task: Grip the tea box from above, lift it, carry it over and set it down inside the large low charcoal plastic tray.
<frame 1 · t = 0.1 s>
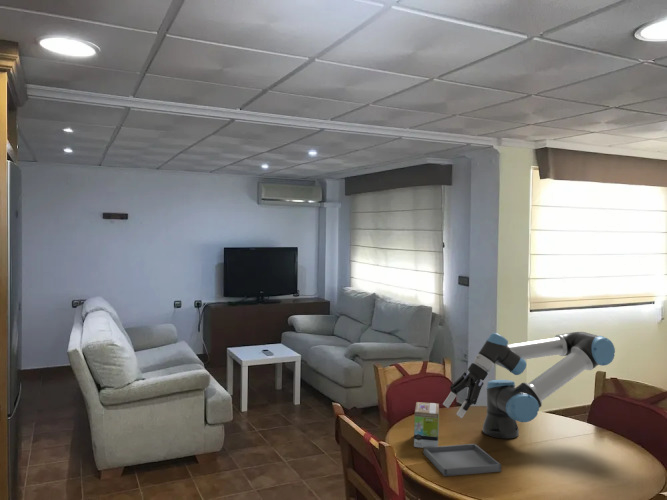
hand: (451, 411, 218), 15 cm above the table, tool tilted 35°, fingers open, 13 cm apart
tea box: (426, 442, 226), on the table
tray: (460, 462, 205), on the table
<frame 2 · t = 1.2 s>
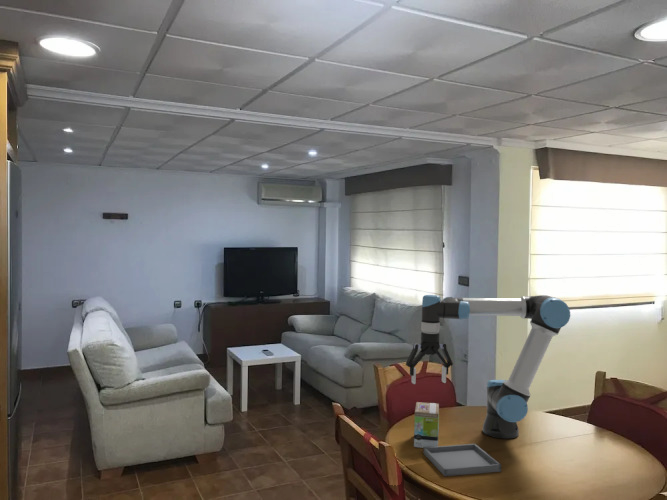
hand: (428, 382, 225), 25 cm above the table, tool pointing down, fingers open, 13 cm apart
nothing on the table moved.
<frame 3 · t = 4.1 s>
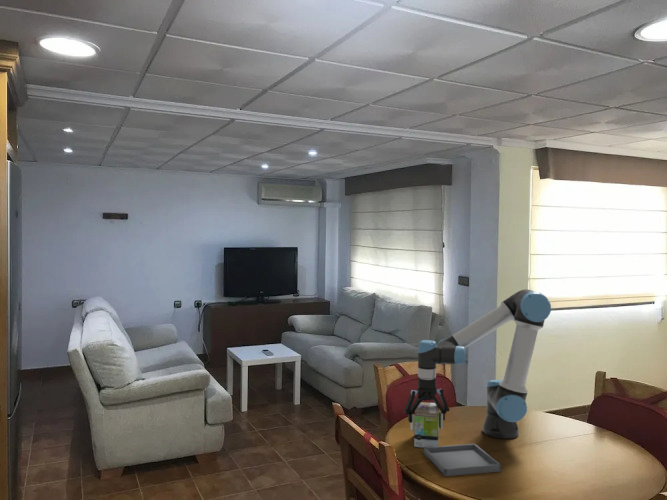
hand: (426, 429, 226), 5 cm above the table, tool pointing down, fingers closed on tea box, 12 cm apart
tea box: (426, 442, 226), on the table, touching gripper
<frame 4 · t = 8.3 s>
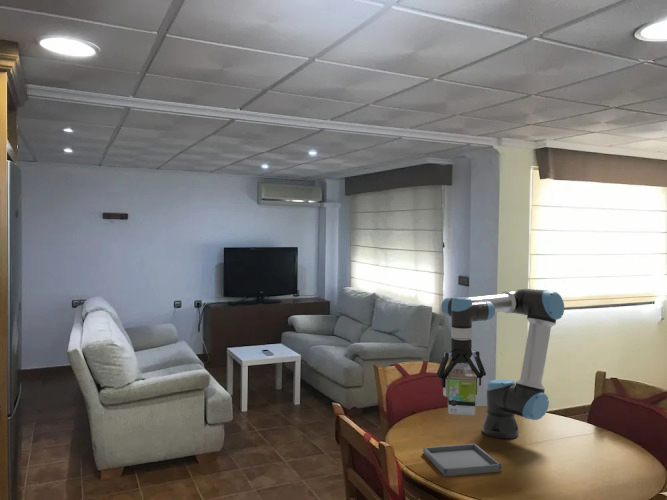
hand: (461, 395, 205), 26 cm above the table, tool pointing down, fingers closed on tea box, 12 cm apart
tea box: (461, 409, 205), point 20 cm above the table, touching gripper
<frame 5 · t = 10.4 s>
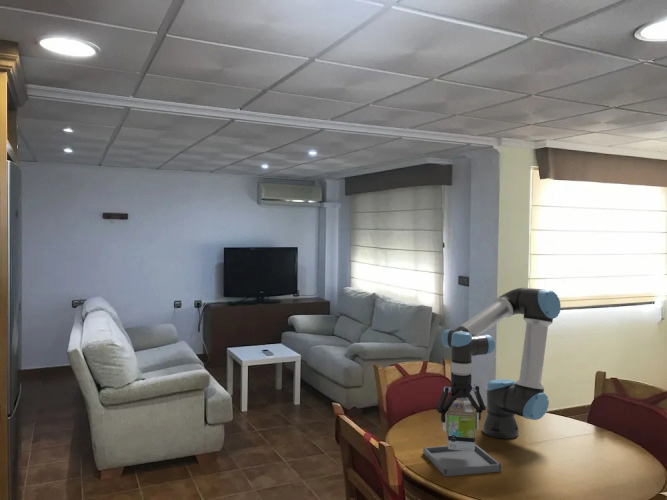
hand: (460, 429, 205), 12 cm above the table, tool pointing down, fingers closed on tea box, 12 cm apart
tea box: (460, 444, 205), point 7 cm above the table, touching gripper
when the fingers open (8 cm above the table, at t = 12.5 s): tea box drops 2 cm, resting on tray.
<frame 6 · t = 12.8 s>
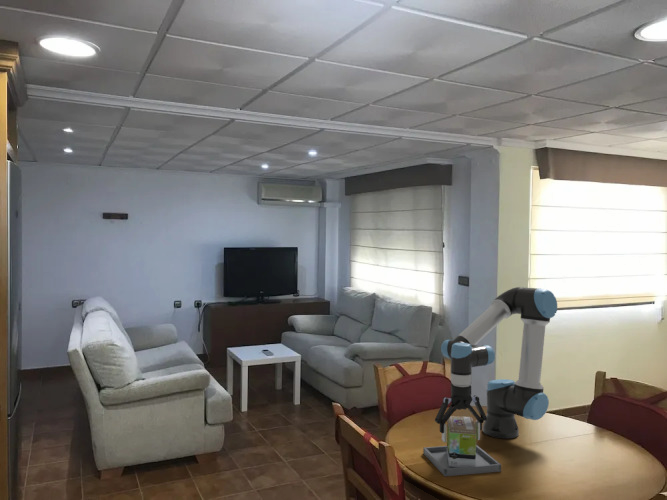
hand: (460, 440, 205), 8 cm above the table, tool pointing down, fingers open, 13 cm apart
tea box: (460, 460, 205), point 1 cm above the table, touching tray
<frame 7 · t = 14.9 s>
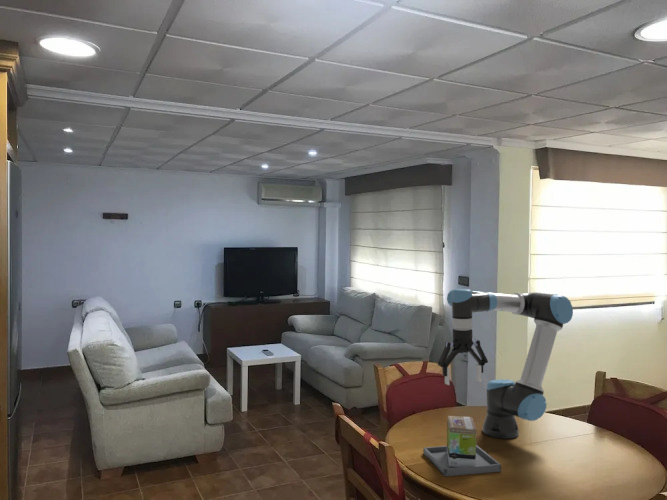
hand: (463, 382, 211), 29 cm above the table, tool pointing down, fingers open, 13 cm apart
nothing on the table moved.
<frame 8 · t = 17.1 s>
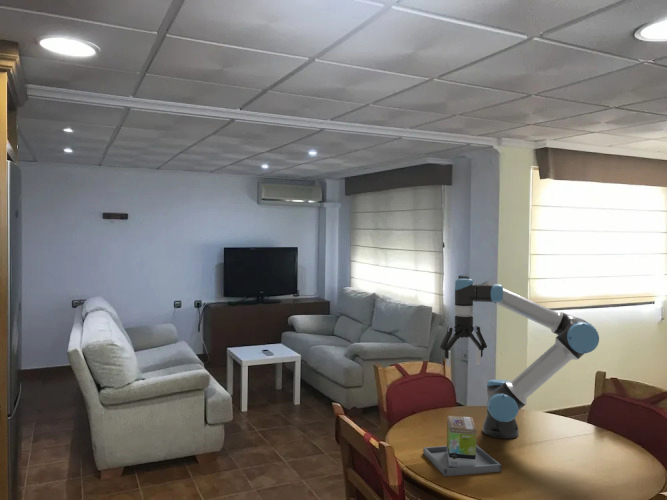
hand: (463, 365, 228), 32 cm above the table, tool pointing down, fingers open, 13 cm apart
nothing on the table moved.
at the end: tea box inside the target area on the tray (0.1 cm from its centre), point 0.6 cm above the tray's base; tea box tilted 0°; the gripper is holding nothing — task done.
